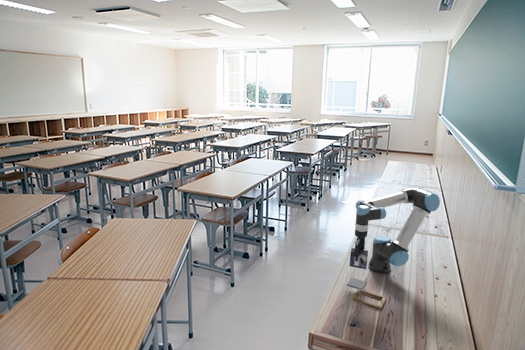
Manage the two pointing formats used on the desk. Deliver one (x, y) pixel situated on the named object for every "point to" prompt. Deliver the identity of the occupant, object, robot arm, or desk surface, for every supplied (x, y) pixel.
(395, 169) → the desk surface
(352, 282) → the mat
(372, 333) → the desk surface
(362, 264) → the small box
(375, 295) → the wooden frame
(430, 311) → the desk surface
